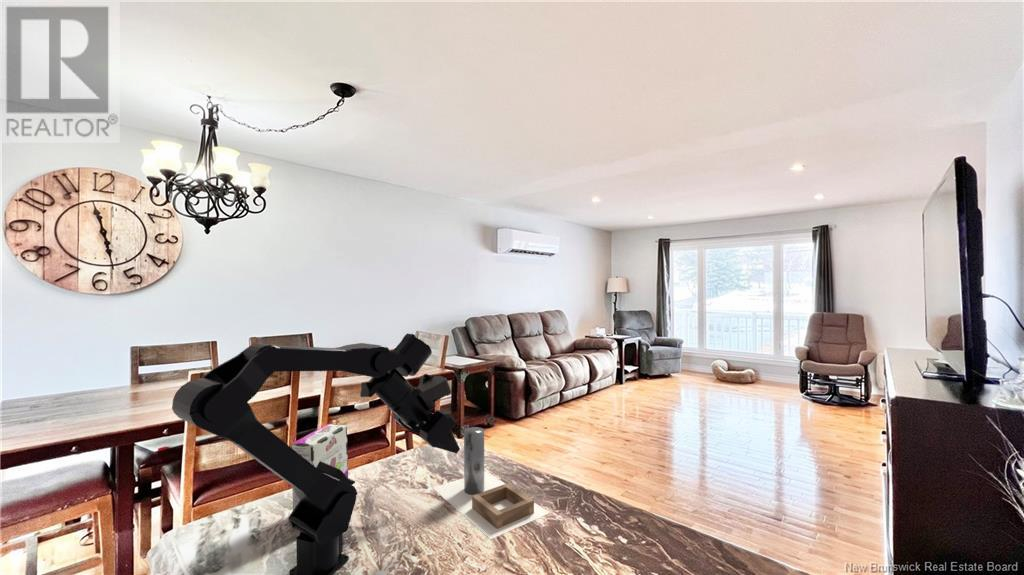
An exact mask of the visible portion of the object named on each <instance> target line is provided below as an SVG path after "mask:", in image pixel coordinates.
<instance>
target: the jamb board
mask: <svg viewBox="0 0 1024 575" xmlns="http://www.w3.org/2000/svg"><path fill="white" fill-rule="evenodd" d="M504 484H506V482H503V481H502V480H501V479H499V478H497V477H496V476H494V475H492V474H491V473H490V472H489V471H487V470H484V491H487V490H490V489H493V488H496V487H498V486H501V485H504ZM432 490H433V491H435V492H436V493H437V494H438V495H439V496H440V497H442V498H443V499H444V500H445V501H446V502H447V503H449V504H450V505H451V507H453V508H454V509H456V510H457V512H459V513H460V514H461V515H462V516H463V517H464V518H466V520H468V521H469V522H470V523H471V524H472V525H473V526H474V527H476V529H478V530H479V531H480V532H482V534H484V535H485V536H486V537H487V538H488V539H489V540H492V539H493V540H494V539H495V538H497V537H499V536H502V535H504V534H506V533H508V532H511V531H513V530H515V529H518V528H521V526H524V525H526V524H528V523H531V522H533V521H535V520H537V519H539V518H542V517H544V516H547V515H549V514H550V511H548V510H546V509H545V508H543V507H541V506H540V505H539V504H538V503H536V502H534V513H533V514H531V515H528V516H526V517H524V518H521V519H519V520H517V521H514V522H512V523H510V524H508V525H505V526H503V527H501V528H498V529H496V528H495V527H494V526H493V525H492V524H490V523H489V522H488V521H487V520H486V519H484V518H483V517H482V516H481V515H480V514H478V513H477V512H476V511H475V510H473V509H472V496H473V495H469V494H467V493H465V492H464V477H463V478H459V479H456V480H454V481H450V482H446V483H444V484H441V485H439V486H435V487H432ZM511 505H513V503H511V502H510V501H508V500H507V499H505V500H502V501H500V502H497V503H495V504H492V506H493V507H495V508H496V509H497V510H501V509H504V508H506V507H509V506H511Z"/></svg>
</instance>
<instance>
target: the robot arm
mask: <svg viewBox="0 0 1024 575" xmlns="http://www.w3.org/2000/svg"><path fill="white" fill-rule="evenodd" d="M432 354H433V352H432V348H431V346H430V345H429V344H427V343H426V342H424V341H423V340H422V339H421V338H418V337H416V335H415V334H414V333H406V334H405V335H404V336H403V338H402V339H401V341H400V342H399V343H398V344H397V346H396V347H395V348H394V349H393V350H391V351H390V349H389V347H388V346H385V345H383V344H382V345H380V344H371V343H366V342H365V343H364V342H357V343H353V344H352V343H351V344H345V345H342V346H340V347H339V346H337V347H318V346H299V345H298V346H293V345H275V344H269V343H268V344H267V343H262V342H257V343H252V344H251V345H249V346H247V348H245V349H243V350H242V351H241V352H239V353H238V354H236V356H234V357H231V359H228V360H226V361H224V362H223V363H220V364H219V365H217V366H215V367H214V368H212V369H211V370H210V371H208V372H207V373H205V374H204V375H203V376H202V377H200V378H195V379H191V380H189V381H187V382H186V383H184V384H183V385H181V386H180V388H179V389H177V391H176V392H175V394H174V396H173V399H172V406H171V409H172V411H173V413H174V414H175V416H176V417H178V418H179V419H181V420H183V421H185V422H186V423H189V424H191V425H193V426H195V427H197V428H198V429H199V428H200V429H201V430H204V431H205V432H208V433H210V434H212V435H216V436H218V437H219V438H221V439H225V440H227V441H229V442H231V443H232V444H233V445H235V446H236V447H237V448H239V449H241V450H242V451H243V452H245V453H246V454H247V455H248V456H250V457H251V458H253V460H256V461H257V463H259V464H261V465H262V466H263V467H265V468H266V469H267V470H270V471H271V472H272V473H273V474H274V475H276V476H278V477H279V478H280V479H282V481H284V482H285V483H287V484H289V485H290V486H291V487H292V489H293V488H294V491H295V493H296V495H297V497H298V498H299V499H300V501H299V503H298V504H297V506H296V507H295V508H294V510H293V509H292V512H291V513H290V514H289V516H288V518H287V519H288V522H289V524H290V526H291V528H292V529H295V528H296V530H297V531H298V532H299V535H298V536H296V539H295V541H296V545H295V547H296V550H295V551H296V553H295V554H296V555H295V556H296V565H295V566H293V567H292V568H291V569H290V570H289V571H288V574H289V575H332V574H334V573H335V572H337V570H339V569H340V568H341V567H342V566H343V565H345V564H346V563H347V562H348V561H349V559H350V556H349V555H348V554H343V551H344V548H343V547H344V545H343V544H344V543H343V542H344V539H343V536H344V534H345V533H346V532H348V530H349V526H350V523H351V519H352V516H353V511H354V507H355V505H356V501H357V495H358V491H357V490H358V489H357V488H356V487H355V486H354V484H355V483H356V481H355V480H353V479H351V478H349V477H348V478H347V477H346V476H345V474H344V473H343V472H342V471H341V470H340V469H338V468H335V467H333V466H331V465H328V464H326V463H324V462H321V461H320V462H319V463H318V465H317V467H315V466H313V465H312V464H311V463H310V462H308V461H307V460H306V459H305V458H303V457H302V456H301V455H300V454H298V453H297V452H296V451H295V450H293V449H292V448H291V445H289V444H287V443H286V442H284V440H282V439H281V438H280V437H279V436H277V435H276V434H275V433H273V432H272V431H271V430H270V429H268V428H267V427H266V426H265V425H264V424H263V423H261V422H260V420H258V418H257V417H256V414H255V412H254V409H253V407H251V404H249V403H248V402H249V401H251V399H253V398H254V397H255V396H256V395H257V393H258V392H259V391H260V390H261V388H262V387H263V385H264V384H265V382H266V381H267V380H268V378H269V377H271V375H273V374H274V373H275V372H345V373H350V374H354V375H361V376H365V377H370V380H368V381H365V382H364V381H363V382H361V383H360V386H361V389H360V398H372V397H373V396H374V395H376V396H377V397H378V398H379V399H380V400H381V401H382V402H383V403H384V404H385V405H386V408H388V410H390V411H391V412H393V413H392V419H394V421H395V422H397V424H399V425H400V426H401V427H403V428H404V429H406V430H408V431H411V432H413V433H416V434H419V437H420V438H421V439H422V440H423V441H424V442H425V443H426V444H428V445H429V446H430V447H431V448H437V449H440V450H443V451H447V452H450V453H454V454H458V453H459V451H460V449H461V448H460V447H459V446H460V445H459V444H458V441H457V440H456V438H455V436H454V434H453V431H452V430H453V428H454V426H455V425H456V423H457V419H456V418H455V417H454V416H453V415H452V414H451V413H450V412H447V411H445V410H444V409H438V410H435V411H434V413H433V412H432V411H433V409H434V408H435V407H436V404H435V403H436V402H438V401H439V400H441V399H442V398H444V397H446V396H447V397H448V396H449V395H451V394H452V389H451V386H450V384H449V382H448V379H447V377H444V376H442V375H433V377H432V375H430V374H428V373H424V374H422V375H420V377H419V383H418V386H417V387H415V386H414V385H412V384H411V383H410V382H409V381H408V379H406V378H405V377H408V376H410V377H414V376H416V375H417V374H418V372H419V371H420V370H421V368H422V367H423V365H424V364H425V363H426V362H427V360H428V359H429V358H430V357H431V355H432Z"/></svg>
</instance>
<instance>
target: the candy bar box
mask: <svg viewBox="0 0 1024 575" xmlns="http://www.w3.org/2000/svg"><path fill="white" fill-rule="evenodd" d="M290 447H291V448H292V449H293V450H295V451H296V452H297V453H298V454H300V455H301V456H302V457H303V458H305V459H306V460H307V461H308V462H310V463H311V464H312V465H313V466H315V467H317V465H318V463H319V462H320V461H321V462H324V463H326V464H328V465H331V466H333V467H335V468H338V469H340V470H341V471H342V472H343V473H344V474H345V476H346V477H347V478H349V466H348V465H349V464H348V461H349V460H348V456H349V455H348V453H349V452H348V425H347V424H338V423H336V424H335V423H327V424H326V425H324V426H322V427H320V428H317V429H316V430H314V431H312V432H310V433H309V434H307V435H305V436H303V437H301V438H300V439H298V440H296V441H294V442H292V443H291V444H290ZM299 501H300V499H299V498H298V497H297V495H296V493H295V491H294V488H293V487H292V511H293V510H294V508H295V507H296V506H297V504H298V503H299ZM294 529H296V528H294ZM296 530H297V529H296Z"/></svg>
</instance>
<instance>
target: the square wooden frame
mask: <svg viewBox="0 0 1024 575" xmlns="http://www.w3.org/2000/svg"><path fill="white" fill-rule="evenodd" d="M505 499H507V500H508V501H510V502H511V503H513V505H511V506H509V507H506V508H504V509H501V510H497V509H496V508H495V507H493V506H492V504H495V503H497V502H500V501H502V500H505ZM534 503H535V500H534V499H533V498H531V497H530V496H528V495H527V494H525V493H523V492H522V491H520V490H519V489H517V488H515V487H514V486H513V485H511V484H510V483H509V482H507V483H505V484H504V485H501V486H498V487H496V488H493V489H490V490H487V491H484V492H482V493H479V494H476V495H473V496H472V509H473V510H475V511H476V512H477V513H478V514H480V515H481V516H482V517H483V518H484V519H486V520H487V521H488V522H489V523H490V524H492V525H493V526H494V527H495V528H496V529H498V528H501V527H503V526H505V525H508V524H510V523H512V522H514V521H517V520H519V519H521V518H524V517H526V516H528V515H531V514H533V513H534Z"/></svg>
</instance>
